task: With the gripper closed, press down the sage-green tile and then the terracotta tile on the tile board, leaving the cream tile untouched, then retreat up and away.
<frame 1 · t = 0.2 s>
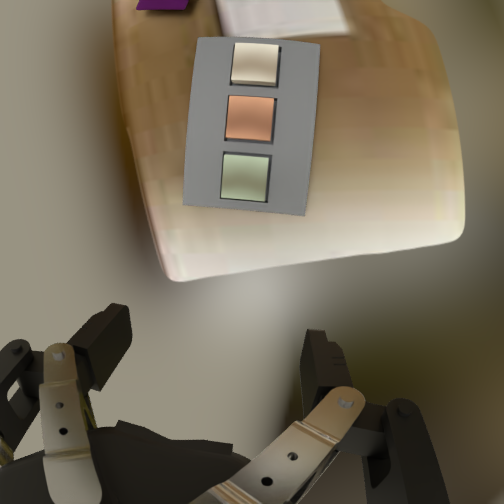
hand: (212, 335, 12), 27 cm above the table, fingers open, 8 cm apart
tile board: (252, 122, 35), on the table
sage tile: (245, 177, 33), point 3 cm above the table, slide at 0.0 cm
terracotta tile: (250, 118, 31), point 4 cm above the table, slide at 0.0 cm
cream tile: (255, 64, 29), point 3 cm above the table, slide at 0.0 cm
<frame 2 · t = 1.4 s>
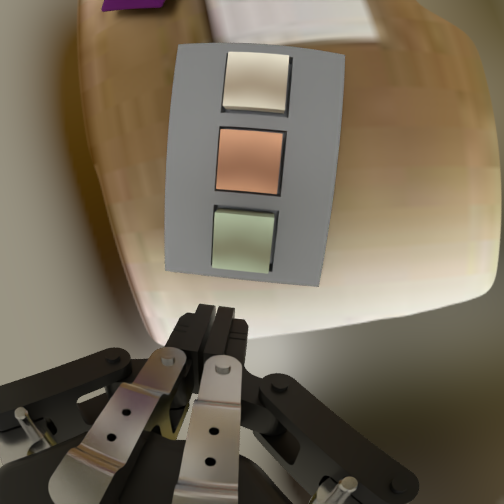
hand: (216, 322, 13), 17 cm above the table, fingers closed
tile board: (252, 160, 27), on the table
sage tile: (243, 240, 26), point 4 cm above the table, slide at 0.0 cm
terracotta tile: (249, 160, 24), point 4 cm above the table, slide at 0.0 cm
cream tile: (256, 82, 22), point 3 cm above the table, slide at 0.0 cm
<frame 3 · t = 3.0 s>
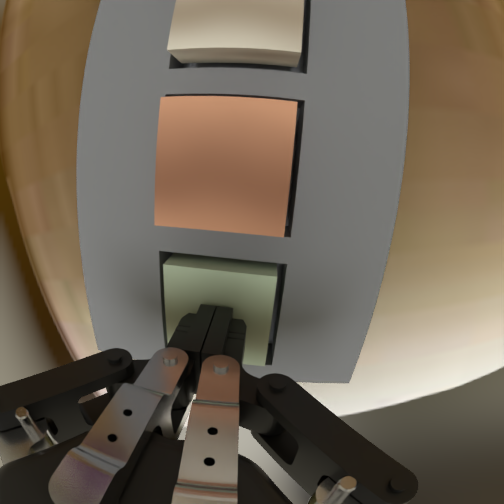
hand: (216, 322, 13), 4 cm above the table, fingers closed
tile board: (235, 160, 14), on the table
sage tile: (220, 309, 14), point 3 cm above the table, slide at 0.9 cm, touching gripper
terracotta tile: (225, 162, 11), point 3 cm above the table, slide at 0.0 cm
cream tile: (240, 7, 9), point 3 cm above the table, slide at 0.0 cm
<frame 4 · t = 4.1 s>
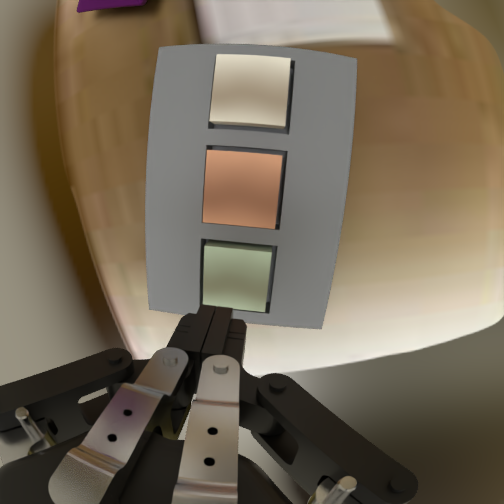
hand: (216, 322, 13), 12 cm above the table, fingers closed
tile board: (246, 183, 24), on the table
sage tile: (236, 275, 23), point 2 cm above the table, slide at 1.0 cm
terracotta tile: (242, 187, 20), point 3 cm above the table, slide at 0.0 cm
cream tile: (251, 91, 18), point 4 cm above the table, slide at 0.0 cm
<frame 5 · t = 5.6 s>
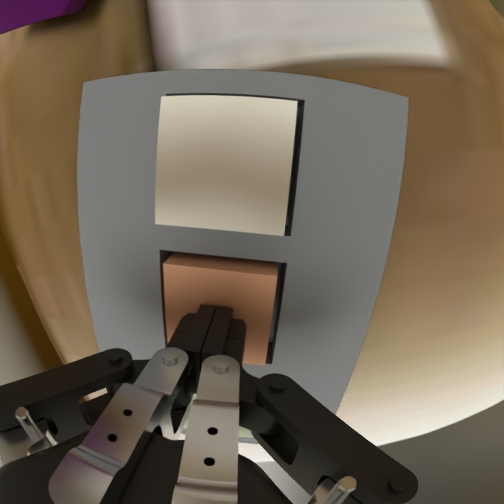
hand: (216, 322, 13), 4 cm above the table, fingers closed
tile board: (227, 285, 17), on the table
sage tile: (217, 400, 17), point 2 cm above the table, slide at 1.0 cm
terracotta tile: (220, 308, 14), point 3 cm above the table, slide at 0.9 cm, touching gripper
cream tile: (225, 161, 11), point 3 cm above the table, slide at 0.0 cm
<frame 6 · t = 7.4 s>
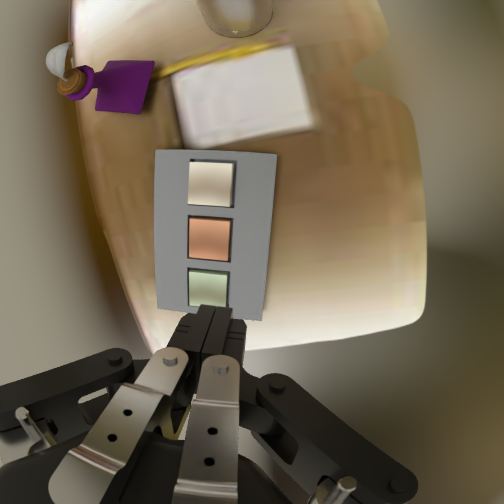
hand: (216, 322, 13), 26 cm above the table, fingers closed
tile board: (213, 233, 40), on the table
sage tile: (208, 287, 39), point 2 cm above the table, slide at 1.0 cm
terracotta tile: (210, 237, 37), point 2 cm above the table, slide at 1.0 cm
cream tile: (211, 183, 34), point 3 cm above the table, slide at 0.0 cm
perfume bottle: (134, 90, 34), on the table
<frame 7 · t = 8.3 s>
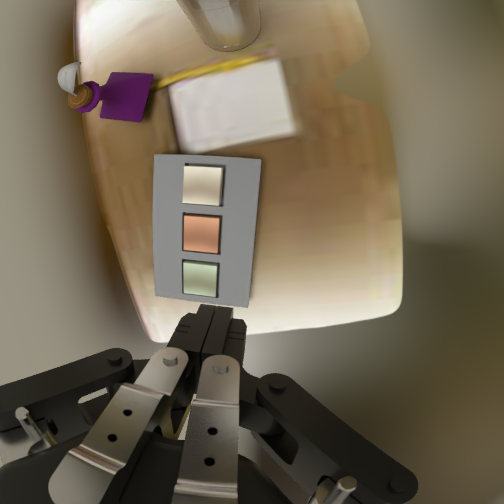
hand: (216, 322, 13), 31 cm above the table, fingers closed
tile board: (205, 228, 44), on the table
sage tile: (201, 277, 44), point 2 cm above the table, slide at 1.0 cm
terracotta tile: (202, 232, 42), point 2 cm above the table, slide at 1.0 cm
cream tile: (203, 184, 39), point 3 cm above the table, slide at 0.0 cm
perfume bottle: (135, 99, 38), on the table
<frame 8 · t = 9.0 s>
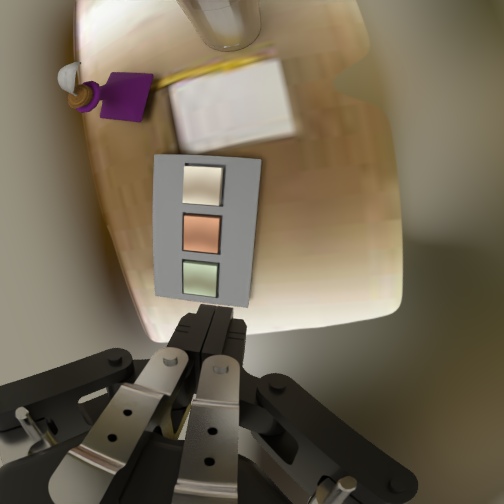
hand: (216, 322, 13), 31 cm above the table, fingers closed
tile board: (205, 228, 44), on the table
sage tile: (201, 277, 44), point 2 cm above the table, slide at 1.0 cm
terracotta tile: (202, 232, 42), point 2 cm above the table, slide at 1.0 cm
cream tile: (203, 184, 39), point 4 cm above the table, slide at 0.0 cm
perfume bottle: (135, 99, 38), on the table
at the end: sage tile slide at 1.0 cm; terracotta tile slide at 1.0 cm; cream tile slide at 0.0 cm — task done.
